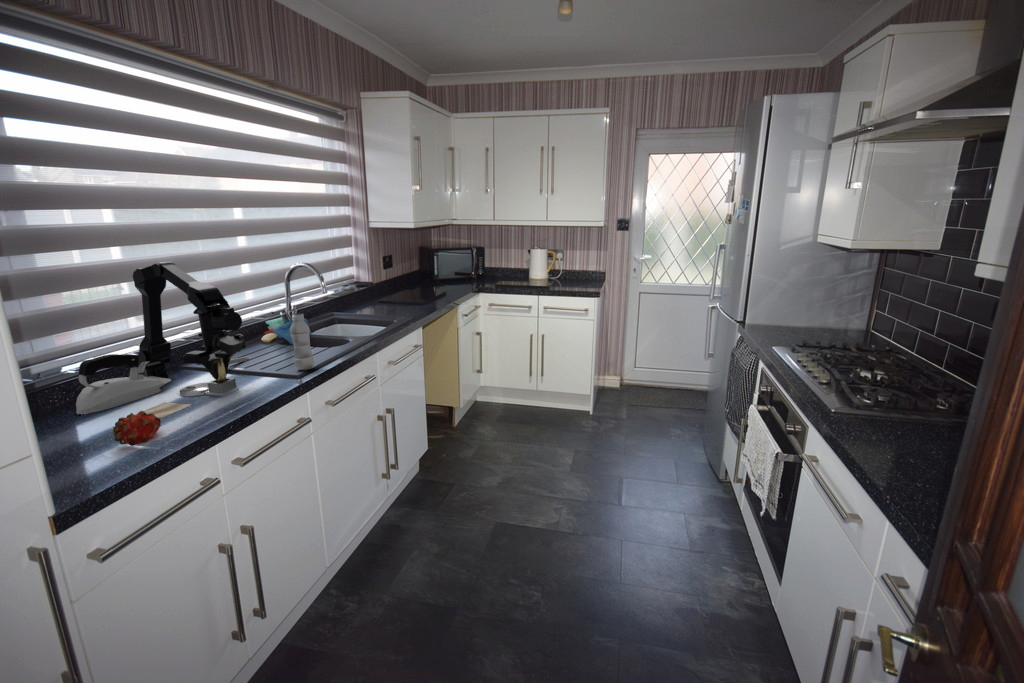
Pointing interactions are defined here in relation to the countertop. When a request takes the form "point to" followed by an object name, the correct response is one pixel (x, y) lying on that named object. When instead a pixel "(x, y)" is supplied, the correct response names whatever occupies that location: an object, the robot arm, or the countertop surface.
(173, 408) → the tan square plate
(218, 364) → the brass cylinder
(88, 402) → the iron
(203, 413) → the countertop surface
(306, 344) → the plastic bottle
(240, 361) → the caliper
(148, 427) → the dragon fruit
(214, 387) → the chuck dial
